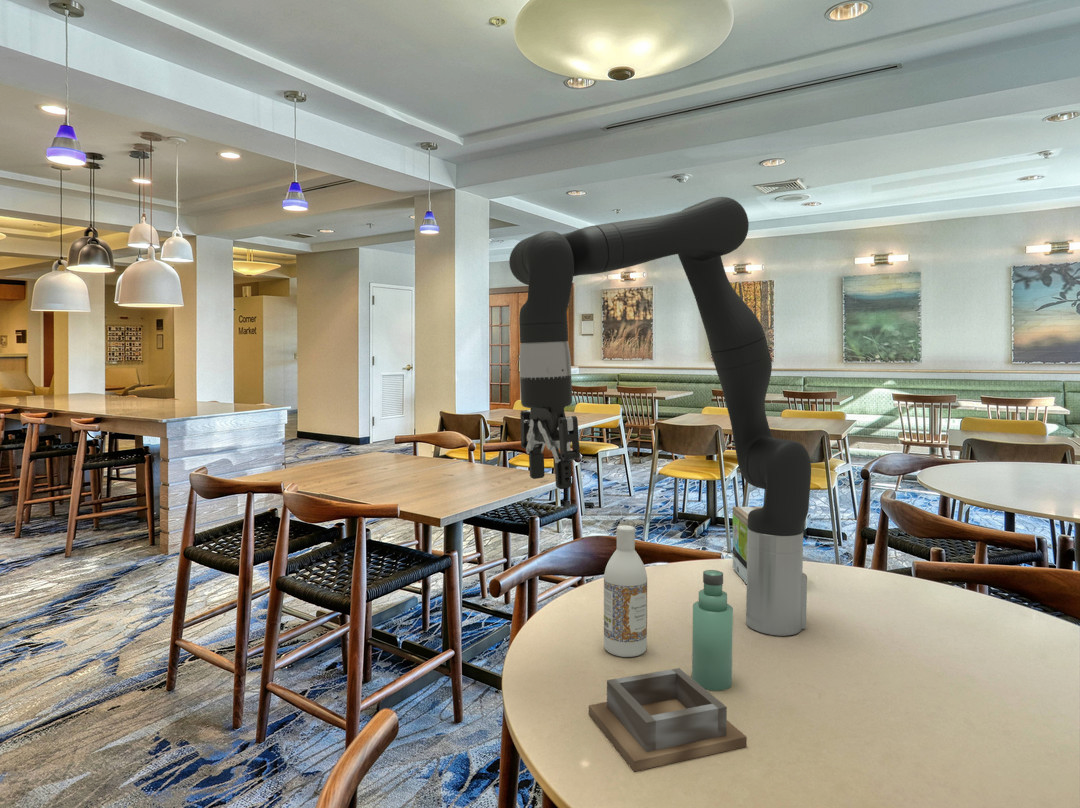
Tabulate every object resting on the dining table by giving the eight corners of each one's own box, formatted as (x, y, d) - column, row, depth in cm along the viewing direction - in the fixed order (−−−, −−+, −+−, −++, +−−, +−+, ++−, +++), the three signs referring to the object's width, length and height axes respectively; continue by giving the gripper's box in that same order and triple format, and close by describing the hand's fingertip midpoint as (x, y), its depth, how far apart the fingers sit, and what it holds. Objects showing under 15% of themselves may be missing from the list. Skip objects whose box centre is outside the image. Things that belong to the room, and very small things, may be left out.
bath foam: (622, 662, 100) (623, 534, 99) (595, 646, 106) (595, 525, 105) (655, 651, 104) (656, 528, 103) (627, 637, 110) (627, 520, 109)
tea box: (730, 569, 148) (731, 504, 147) (775, 569, 147) (776, 505, 147) (749, 591, 133) (751, 520, 132) (799, 592, 132) (800, 520, 132)
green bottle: (717, 670, 98) (718, 565, 97) (739, 687, 92) (741, 576, 92) (684, 675, 96) (685, 569, 95) (706, 693, 91) (707, 580, 90)
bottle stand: (688, 695, 90) (688, 662, 90) (746, 746, 78) (747, 708, 77) (588, 713, 85) (588, 678, 85) (634, 771, 73) (634, 730, 73)
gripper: (592, 373, 90) (596, 488, 91) (546, 371, 103) (550, 471, 104) (544, 376, 87) (549, 495, 88) (502, 374, 99) (507, 478, 101)
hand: (550, 482), depth 96 cm, fingers open, 8 cm apart
